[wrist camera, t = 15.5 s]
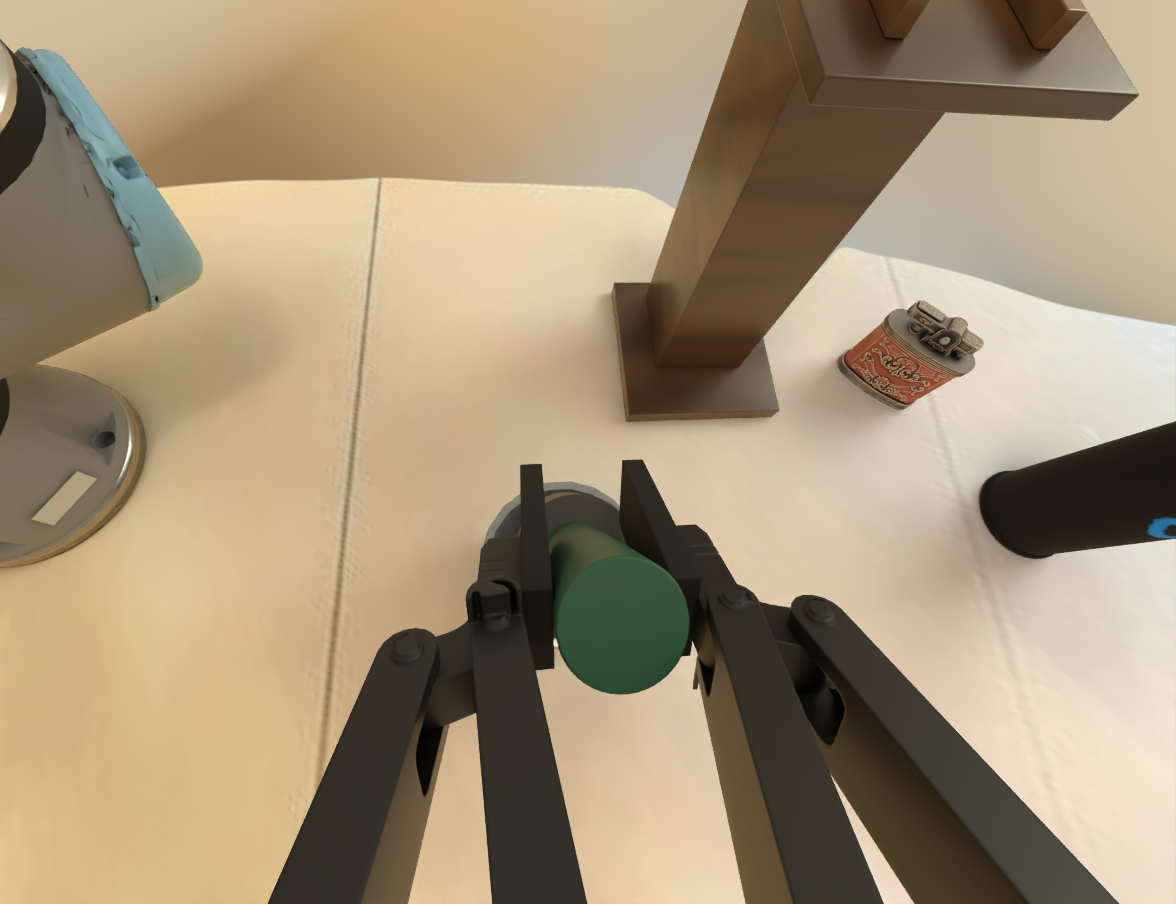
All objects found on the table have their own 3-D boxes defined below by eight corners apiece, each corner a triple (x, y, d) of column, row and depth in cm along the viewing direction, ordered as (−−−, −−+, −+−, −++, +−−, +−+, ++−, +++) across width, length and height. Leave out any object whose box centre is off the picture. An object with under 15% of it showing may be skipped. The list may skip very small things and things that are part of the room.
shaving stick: (750, 738, 11) (733, 494, 11) (503, 768, 10) (494, 507, 10) (615, 584, 28) (610, 489, 28) (520, 591, 27) (516, 494, 27)
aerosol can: (962, 486, 45) (1268, 391, 26) (1028, 461, 47) (1360, 355, 28) (1012, 571, 43) (1386, 535, 24) (1080, 542, 44) (1480, 486, 26)
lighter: (915, 392, 48) (1008, 337, 39) (902, 416, 47) (994, 366, 38) (846, 346, 49) (920, 281, 40) (831, 369, 48) (904, 308, 38)
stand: (772, 421, 45) (1210, 58, 16) (626, 426, 44) (815, 30, 14) (744, 288, 50) (1039, -180, 21) (611, 288, 48) (728, -223, 19)
